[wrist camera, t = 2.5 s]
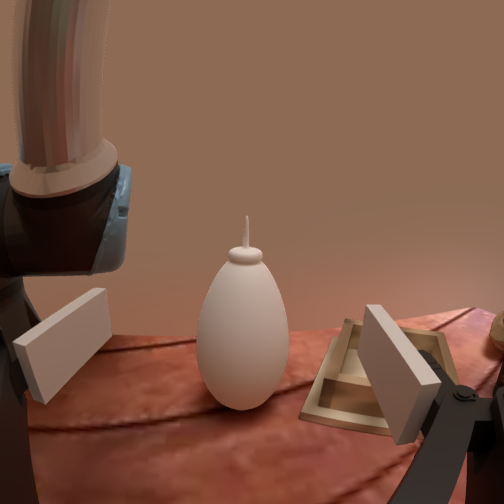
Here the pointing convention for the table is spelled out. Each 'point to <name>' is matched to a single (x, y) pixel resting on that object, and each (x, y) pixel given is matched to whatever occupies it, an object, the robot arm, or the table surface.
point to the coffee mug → (499, 380)
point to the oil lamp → (498, 331)
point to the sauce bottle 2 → (242, 331)
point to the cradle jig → (361, 381)
